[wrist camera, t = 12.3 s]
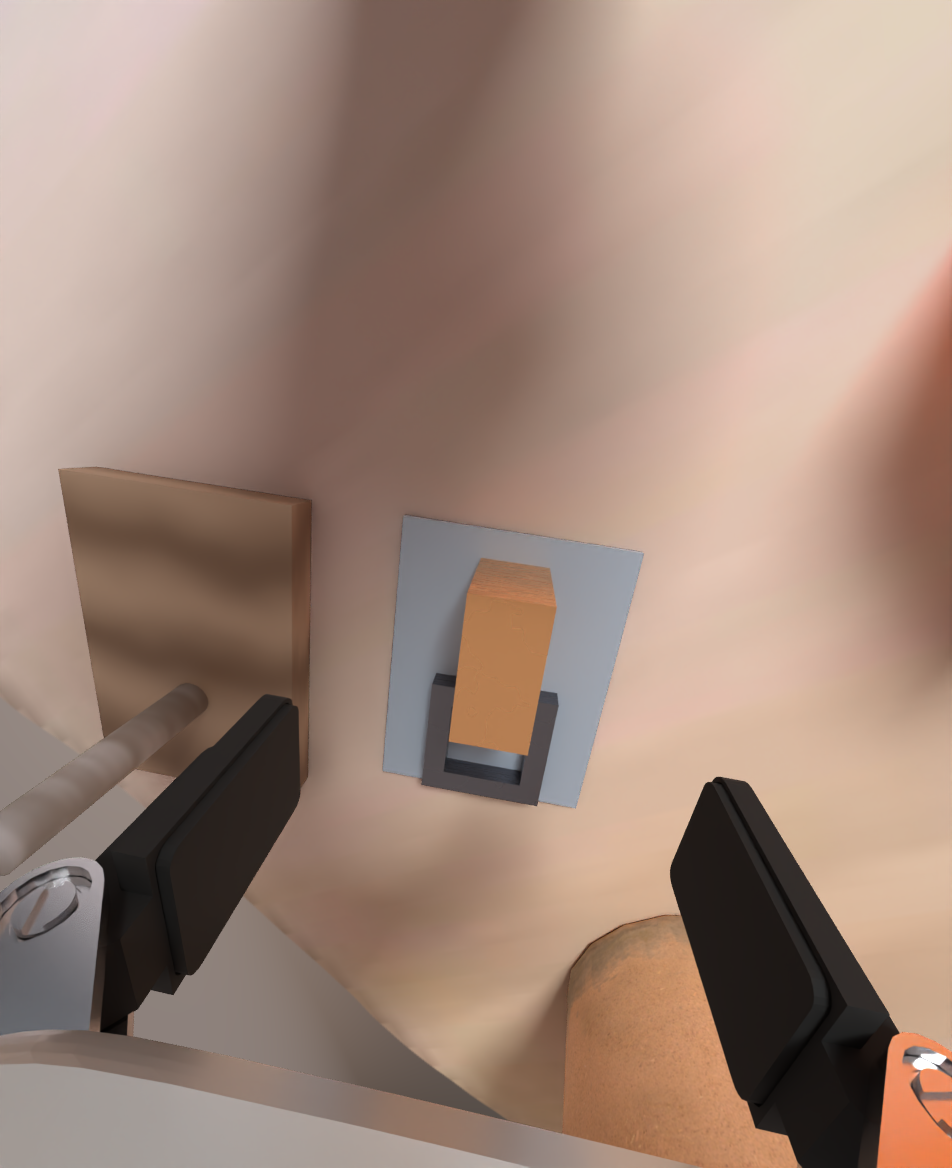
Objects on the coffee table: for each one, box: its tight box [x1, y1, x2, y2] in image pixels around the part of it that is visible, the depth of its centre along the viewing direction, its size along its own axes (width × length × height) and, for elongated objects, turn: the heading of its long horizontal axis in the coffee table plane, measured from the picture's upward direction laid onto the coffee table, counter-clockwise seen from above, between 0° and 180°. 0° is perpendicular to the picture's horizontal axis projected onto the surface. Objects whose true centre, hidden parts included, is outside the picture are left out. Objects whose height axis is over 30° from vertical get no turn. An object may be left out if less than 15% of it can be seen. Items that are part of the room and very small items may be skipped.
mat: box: [383, 515, 644, 808], centre depth 24 cm, size 16×12×1 cm
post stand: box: [0, 467, 311, 876], centre depth 20 cm, size 18×12×12 cm, turn 172°
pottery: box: [562, 915, 798, 1168], centre depth 24 cm, size 22×22×14 cm
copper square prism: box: [421, 558, 559, 806], centre depth 22 cm, size 14×7×6 cm, turn 173°
